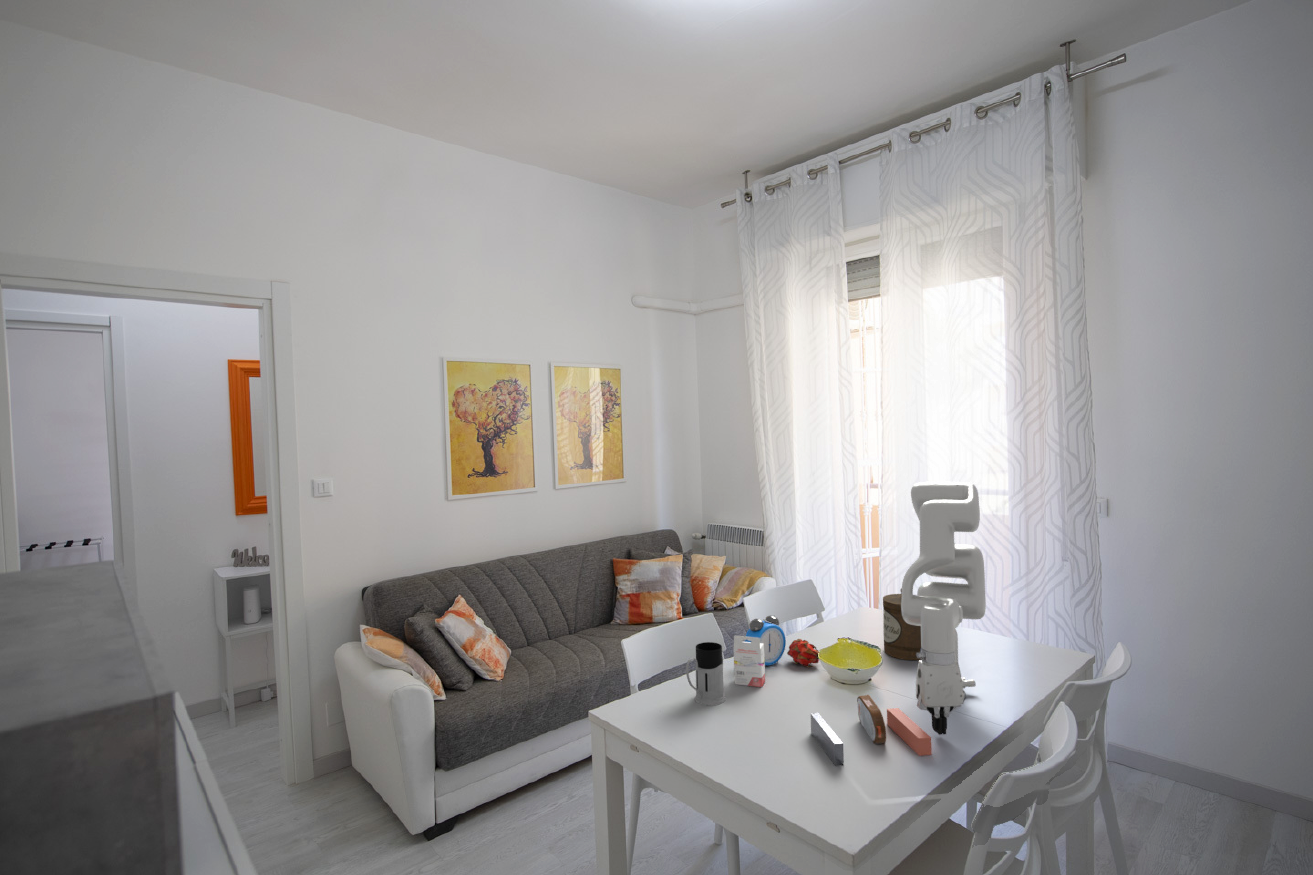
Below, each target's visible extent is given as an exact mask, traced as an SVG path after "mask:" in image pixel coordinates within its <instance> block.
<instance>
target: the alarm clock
mask: <svg viewBox="0 0 1313 875" xmlns="http://www.w3.org/2000/svg"><path fill="white" fill-rule="evenodd" d="M780 624H781V623H780V619H779V618H778V617H776V616H775V615H768V616H767V615H766V617H765V618H763V619H760V618H754V619H752V620H751V621H750V622H749V625H748V627H749V628H748V630H747V631H746V634H745V636H747V637H756V638H760V643H763V644H764V659H765V667H767V666H772V665H775V664H778V663H779V661H780V660H781V658H782V657H783V655H784V652H785V650H786V644H787V643H786V642H787V641H786V635H785V633H784V630H783V629H782V628H781V627H780ZM743 642H751V641H748V640H747V639H746V640H743Z"/></svg>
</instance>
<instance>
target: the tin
mask: <svg viewBox="0 0 1313 875" xmlns="http://www.w3.org/2000/svg"><path fill="white" fill-rule="evenodd" d="M856 701H857V710H858V711H857V712H858V713H857V714H858V719H859V723H860V724H861V725H862V727H863V728H864V730H865V732H866V733H867V734H868V736H869V737H870V739H871V740H872V742H873V744H876V745H877V744H886V742H887V730H886V724H885V719H884V716H883V714H882V711H881V709H880V708H879V707H878V705H877V704H876V702H875V701H874V699H873V698H872V697H871V696H870V694H867V695H866V694H865V695H858V696H857V700H856Z"/></svg>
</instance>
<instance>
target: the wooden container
mask: <svg viewBox="0 0 1313 875" xmlns="http://www.w3.org/2000/svg"><path fill="white" fill-rule="evenodd" d="M901 600H902V587H901V588H900V593H892V594H887V595H884V596H883V597H882V608H883V609H882V610H883V613H882V614H883V615H882V616H883V621H882V622H883V625H882V626H883V627H882V628H883V650H884V653H885V654H886V655H888V656H890V657H892V658H894V659H895V658H896V659H898V660H905V661H906V660H908V661H919V660H921V658H917V656H916V654H917V653H919V652H921V626H916V625H910V624H908V623H906V622H905V621H904V619H903V617H902V610H901Z"/></svg>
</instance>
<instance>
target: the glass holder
mask: <svg viewBox="0 0 1313 875" xmlns="http://www.w3.org/2000/svg"><path fill="white" fill-rule="evenodd" d="M692 660H694V664H695V685H694V684H693V683H692V681H691V678H690V674H689V673H690V672H689V665H690V663H691V661H692ZM685 674H686V679H687V682H688V683H689V686H690V687H691V688H692V689H694V691H695V692H696V693H695V696H694V701H695V702H696V703H698V704H700V705H703V706H704V705H705V706H717V705H721V704H723V703H724V702H725V701H726V696H725V694H724V693H725V692H724V691H725V690H724V689H725V687H724V657H723V646H722V644H720V643H717V642H713V641H709V642H708V641H705V642H700V643H697V644H696V645H695V657H690V658H688V660H687V661H686V665H685Z"/></svg>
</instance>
